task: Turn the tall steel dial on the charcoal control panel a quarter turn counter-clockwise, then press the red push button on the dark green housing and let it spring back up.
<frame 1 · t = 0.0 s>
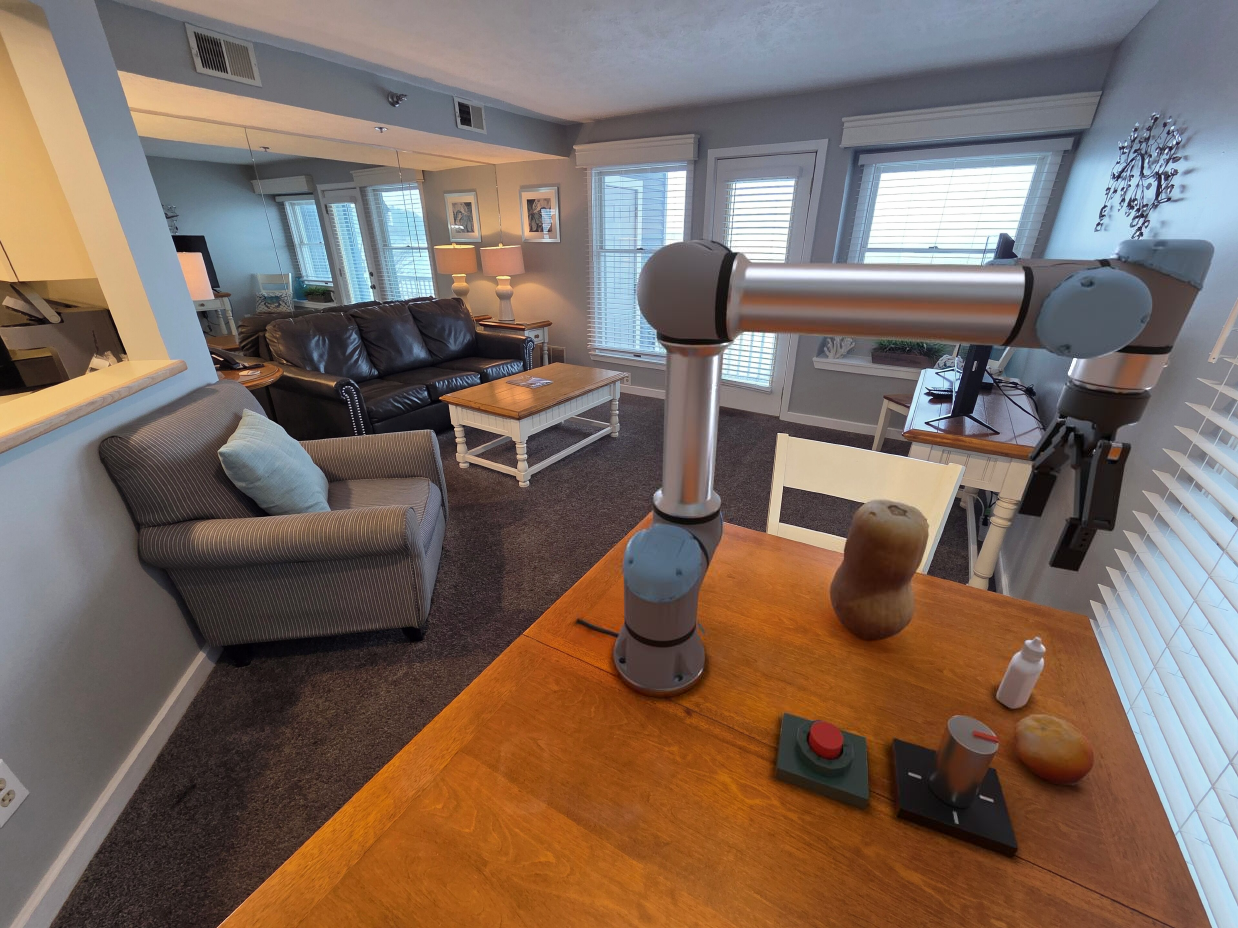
hand: (1044, 538, 67), 28 cm above the table, tool pointing down, fingers open, 13 cm apart
start button: (825, 739, 66), point 5 cm above the table, slide at 0.1 cm
butternut squash: (861, 627, 91), on the table
dial: (961, 760, 61), point 7 cm above the table, hinge at 0.0°
button box: (820, 762, 68), on the table
dial panel: (945, 797, 64), on the table
eye dropper bottle: (1011, 698, 77), on the table
fruit: (1042, 764, 68), on the table
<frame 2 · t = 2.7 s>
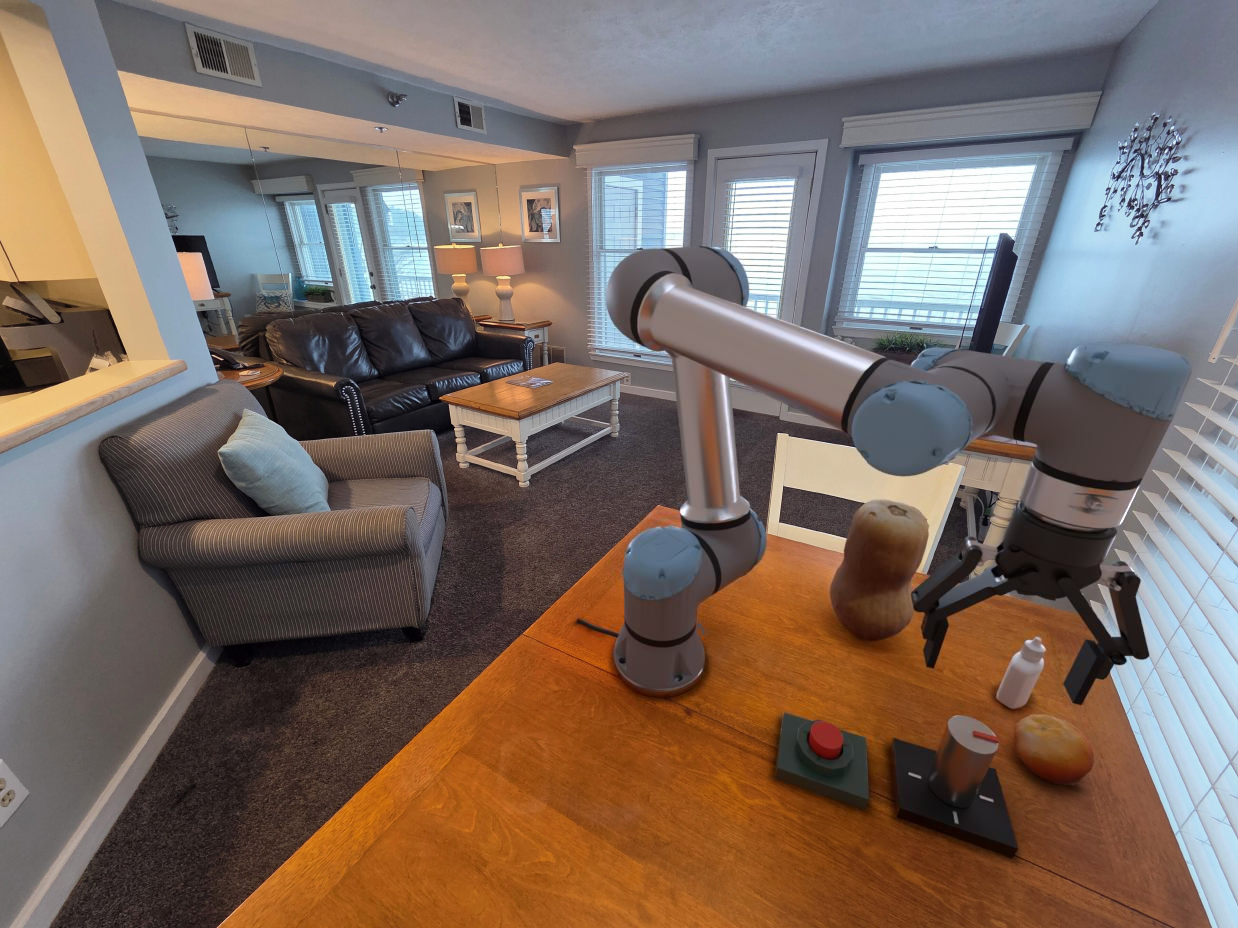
hand: (997, 676, 56), 20 cm above the table, tool pointing down, fingers open, 13 cm apart
nothing on the table moved.
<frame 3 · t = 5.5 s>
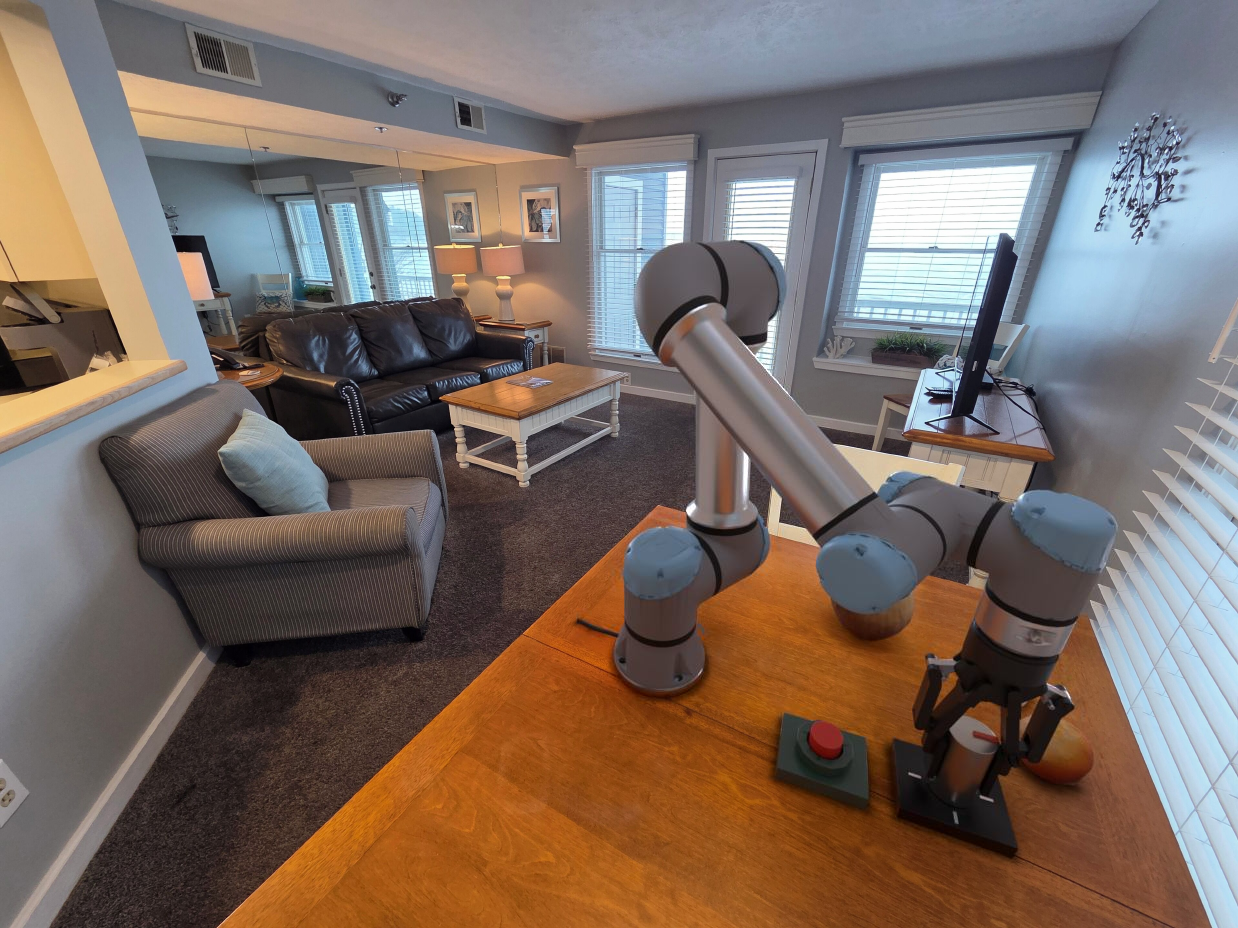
hand: (954, 775, 62), 4 cm above the table, tool pointing down, fingers closed on dial, 5 cm apart
dial: (961, 760, 61), point 7 cm above the table, hinge at -0.1°, touching gripper
everything else where it was.
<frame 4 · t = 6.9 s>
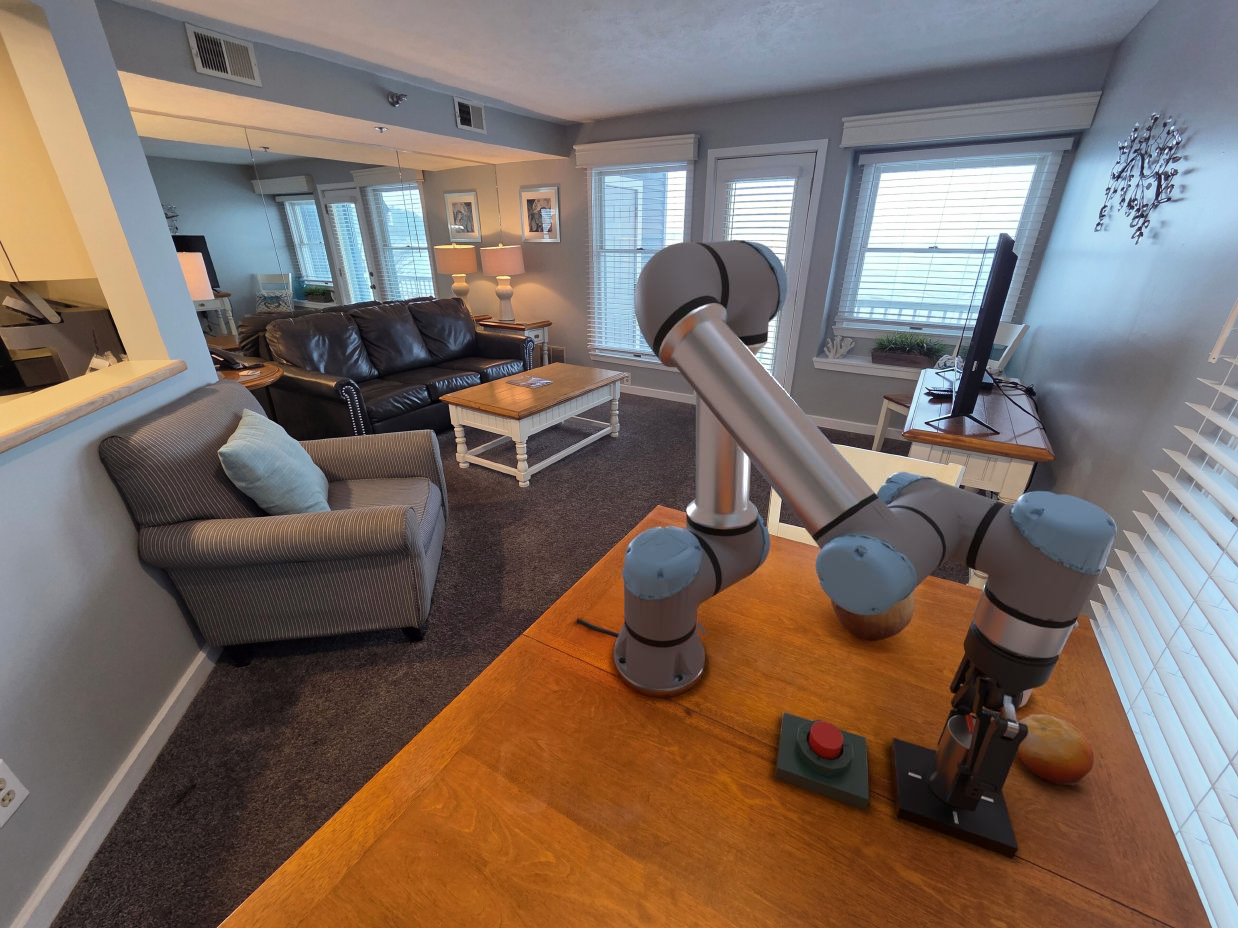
hand: (954, 775, 62), 4 cm above the table, tool pointing down, fingers open, 7 cm apart
dial: (961, 760, 61), point 7 cm above the table, hinge at 90.1°
everything else where it was.
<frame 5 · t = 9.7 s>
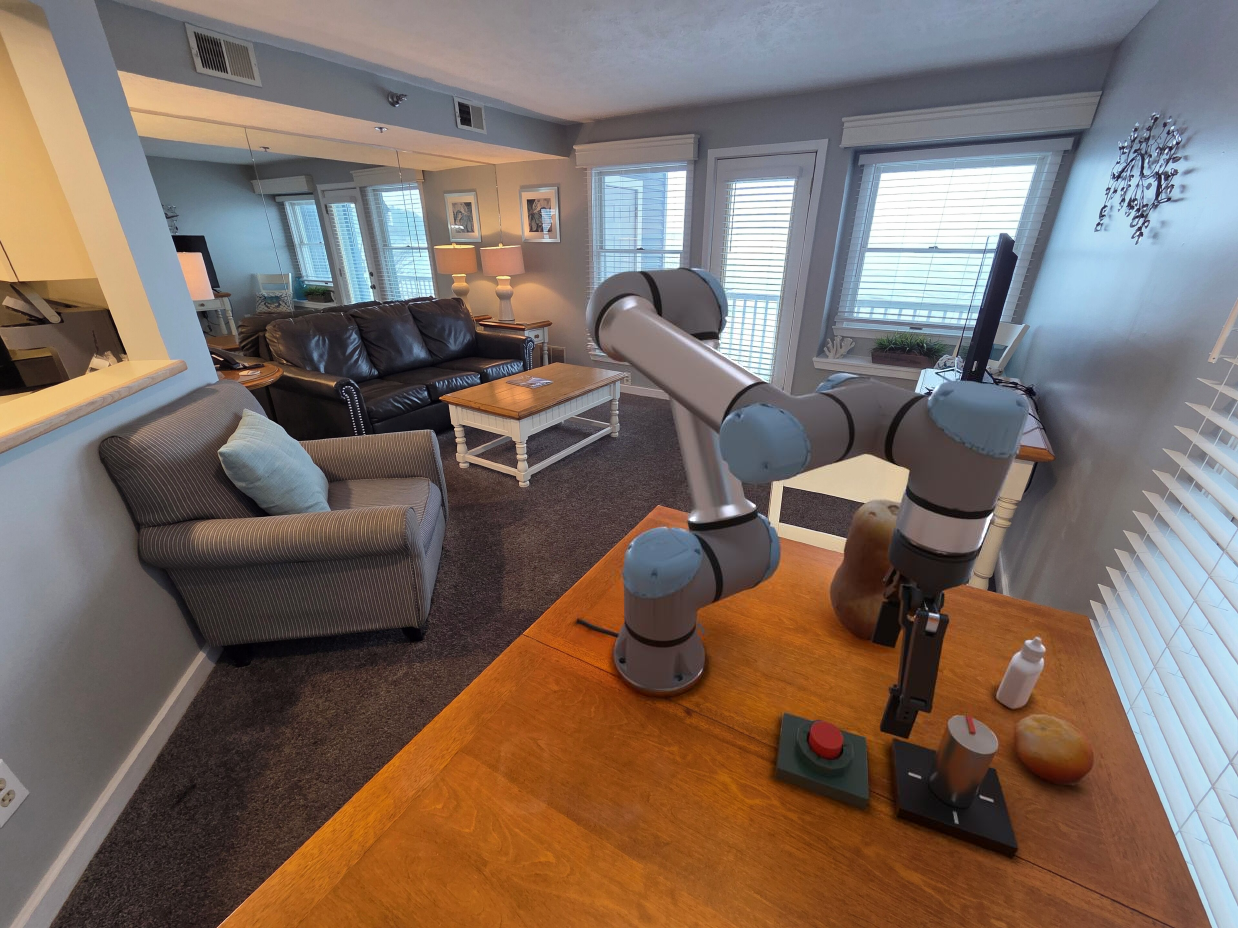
hand: (887, 683, 60), 16 cm above the table, tool pointing down, fingers open, 13 cm apart
nothing on the table moved.
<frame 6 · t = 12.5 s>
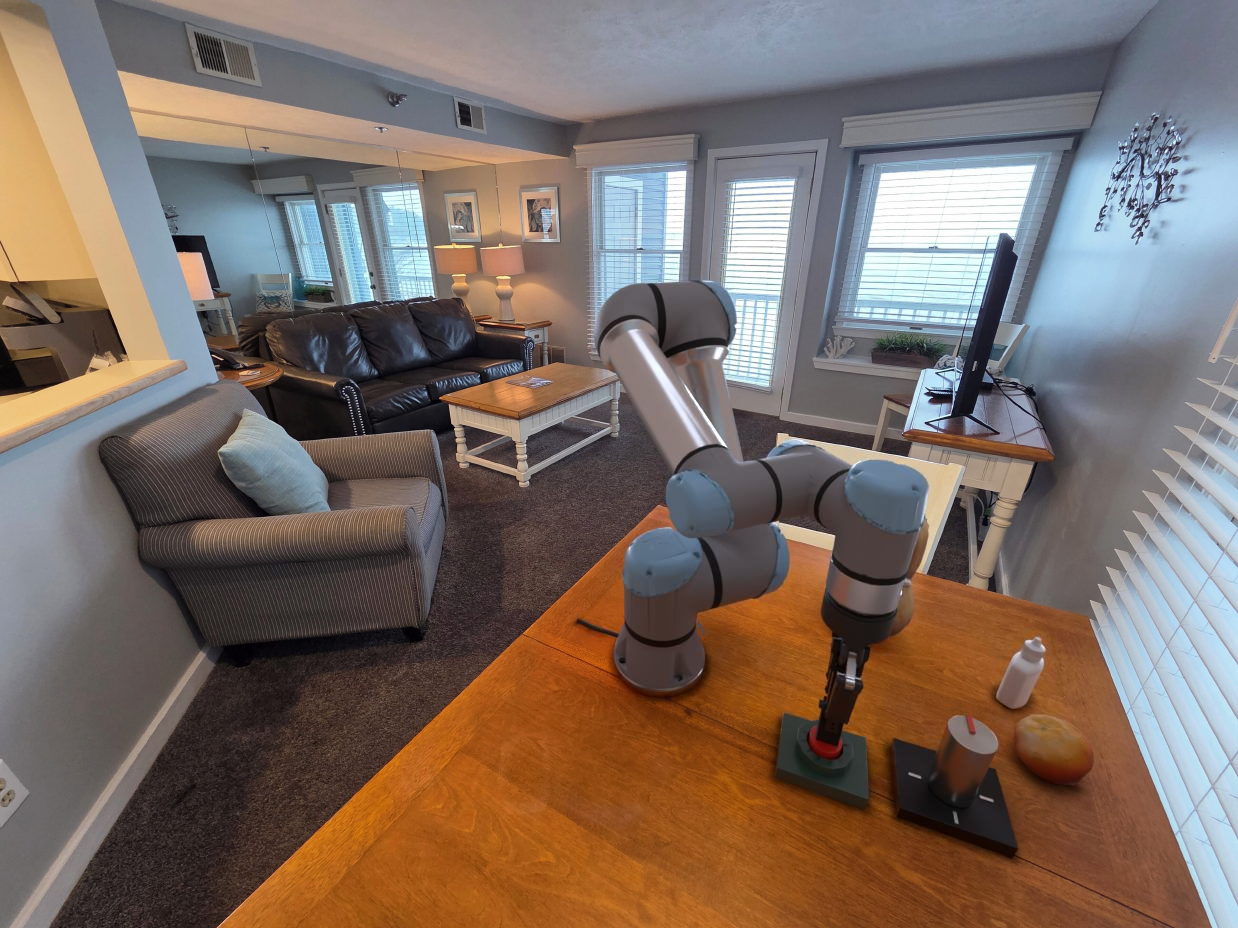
hand: (826, 737, 66), 5 cm above the table, tool pointing down, fingers closed
start button: (824, 743, 67), point 4 cm above the table, slide at -0.7 cm, touching gripper
everything else where it was.
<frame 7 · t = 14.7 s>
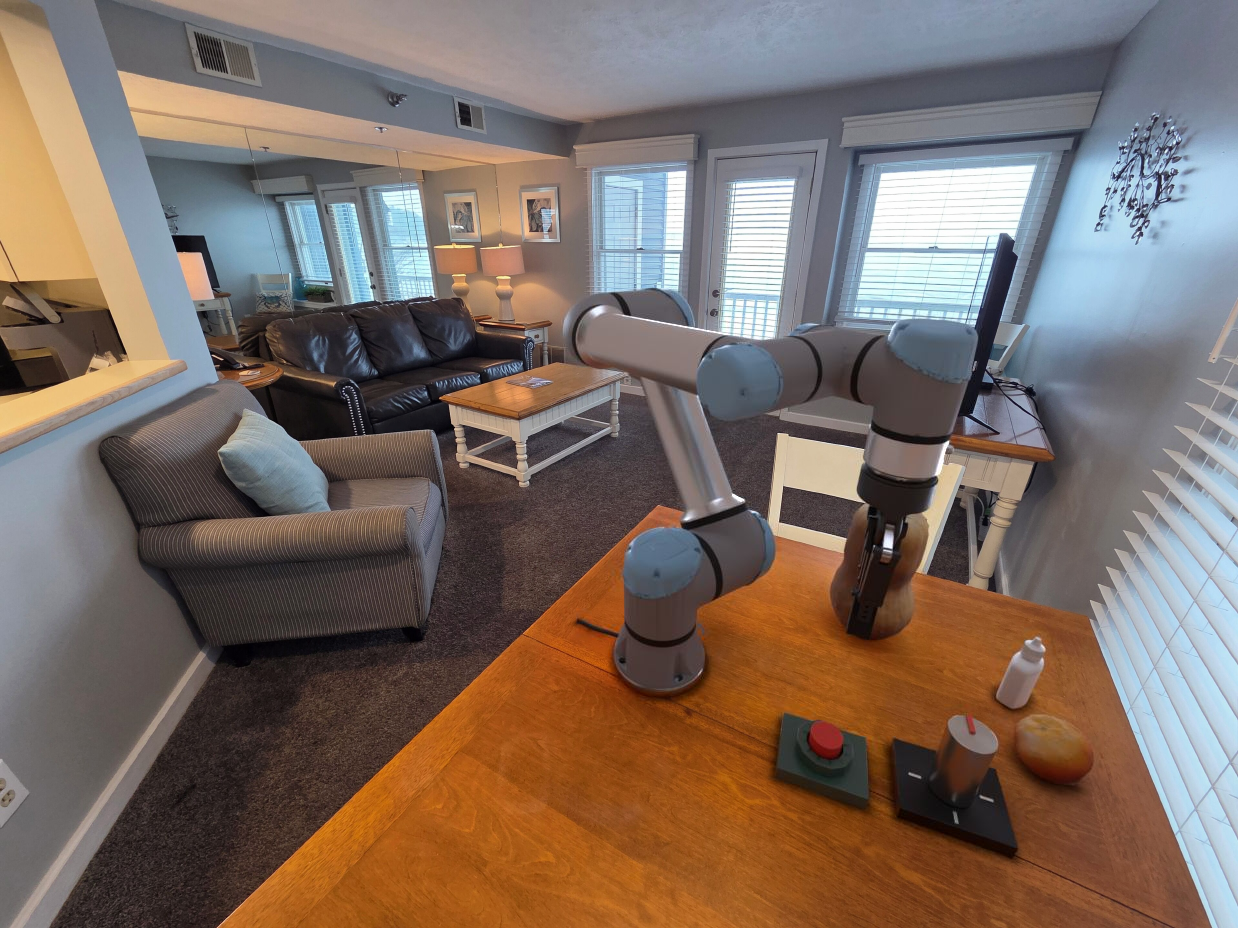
hand: (857, 632, 64), 19 cm above the table, tool pointing down, fingers closed
start button: (825, 739, 66), point 5 cm above the table, slide at 0.1 cm
everything else where it was.
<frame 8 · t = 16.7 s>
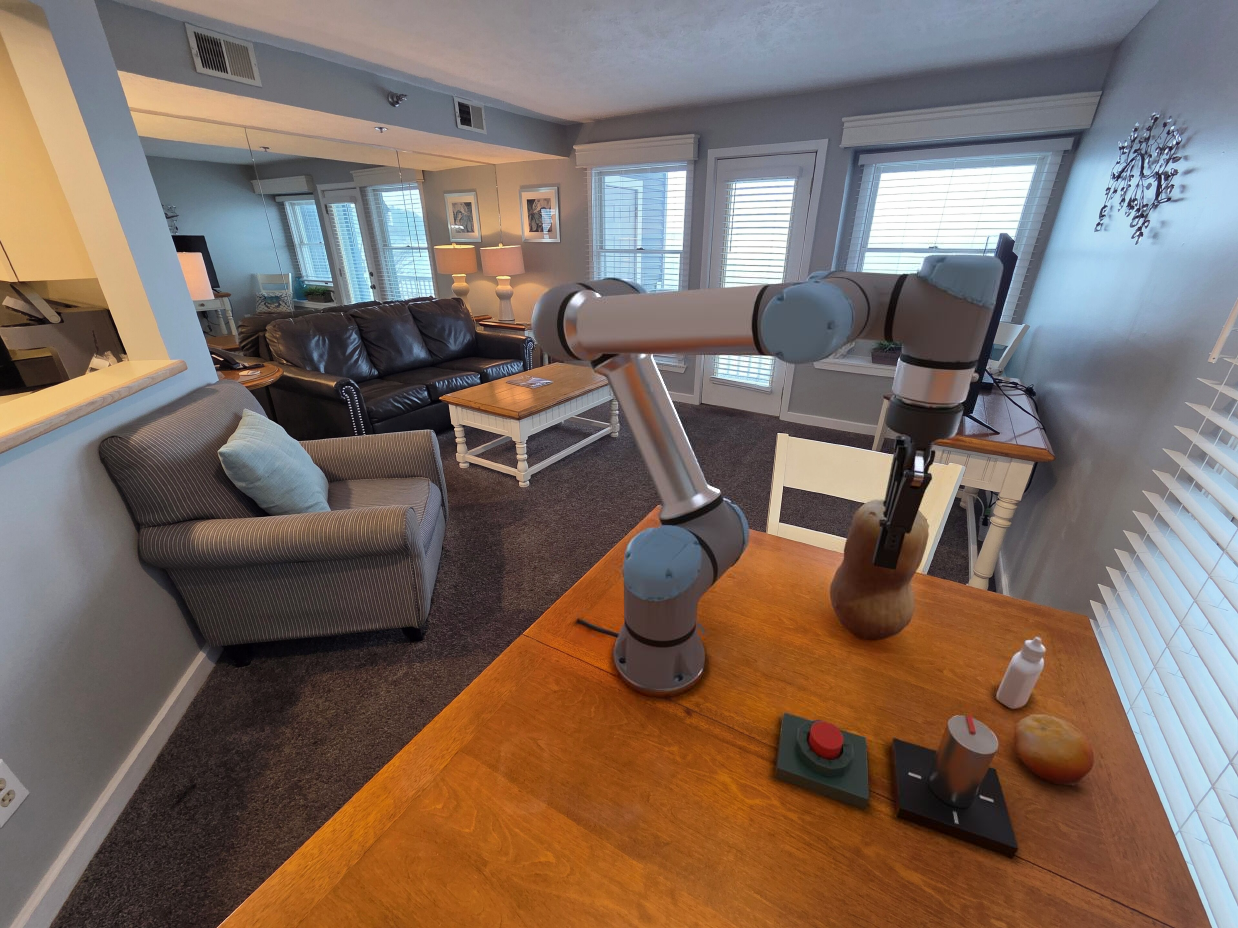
hand: (883, 564, 68), 24 cm above the table, tool pointing down, fingers closed
nothing on the table moved.
at the end: dial at +90° (first picture: +0°); start button pushed in 1.0 cm at the most during the clip, back to where it started at the end; start button slide at 0.1 cm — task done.
